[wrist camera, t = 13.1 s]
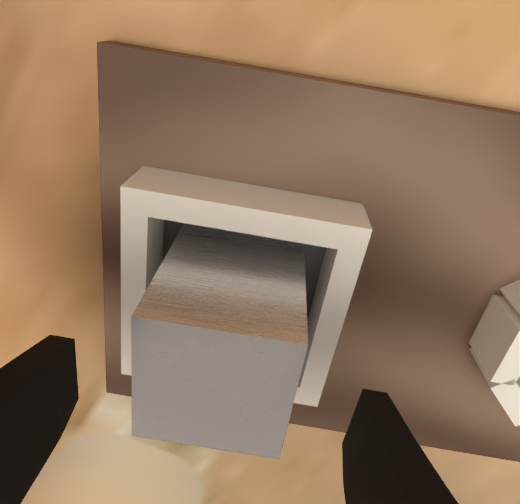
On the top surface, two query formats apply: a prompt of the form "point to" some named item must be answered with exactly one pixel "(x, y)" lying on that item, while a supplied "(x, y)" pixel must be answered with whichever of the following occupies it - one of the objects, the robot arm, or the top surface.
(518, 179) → the bore board
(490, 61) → the top surface
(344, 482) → the robot arm
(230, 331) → the grey rectangular block
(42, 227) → the top surface
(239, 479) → the top surface
